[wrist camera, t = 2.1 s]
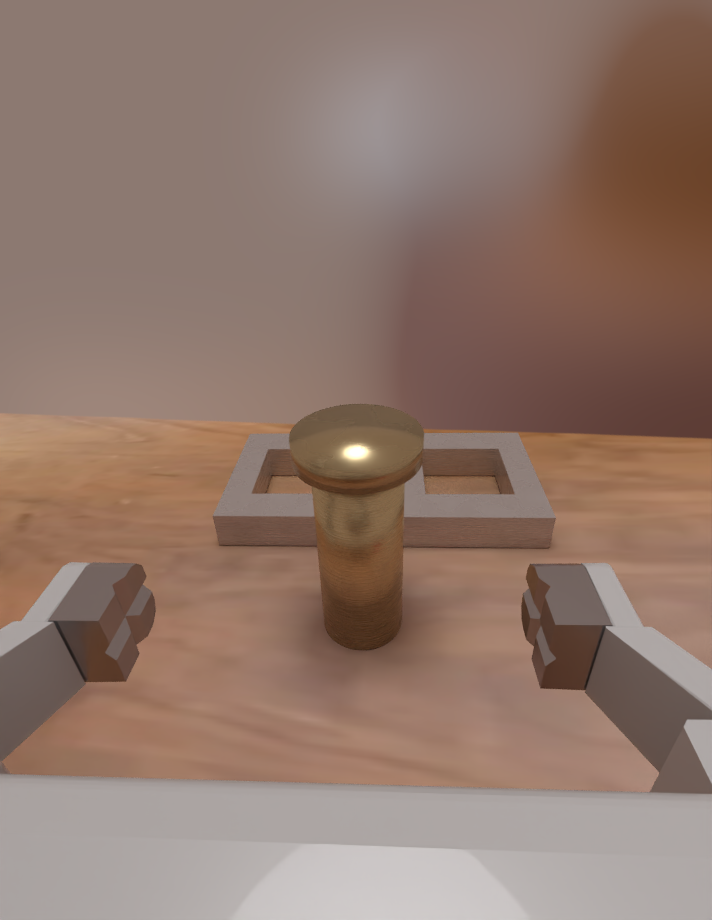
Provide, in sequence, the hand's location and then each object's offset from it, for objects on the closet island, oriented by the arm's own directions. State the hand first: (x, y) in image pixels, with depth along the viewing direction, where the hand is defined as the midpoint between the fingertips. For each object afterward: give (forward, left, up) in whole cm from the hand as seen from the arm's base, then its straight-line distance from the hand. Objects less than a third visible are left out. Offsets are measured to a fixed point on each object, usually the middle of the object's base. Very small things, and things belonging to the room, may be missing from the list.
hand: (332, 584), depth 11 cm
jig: (+1, +24, -15) cm, 28 cm away
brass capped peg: (0, +12, -15) cm, 19 cm away
